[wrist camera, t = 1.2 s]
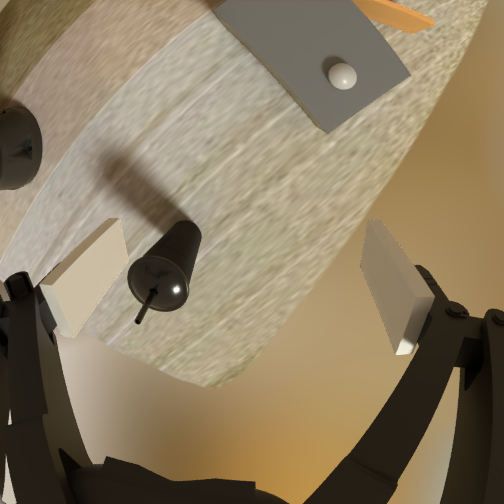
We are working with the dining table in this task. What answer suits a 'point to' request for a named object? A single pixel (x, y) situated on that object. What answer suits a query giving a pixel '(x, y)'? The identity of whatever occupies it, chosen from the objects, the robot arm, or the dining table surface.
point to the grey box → (317, 53)
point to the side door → (394, 15)
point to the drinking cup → (165, 270)
